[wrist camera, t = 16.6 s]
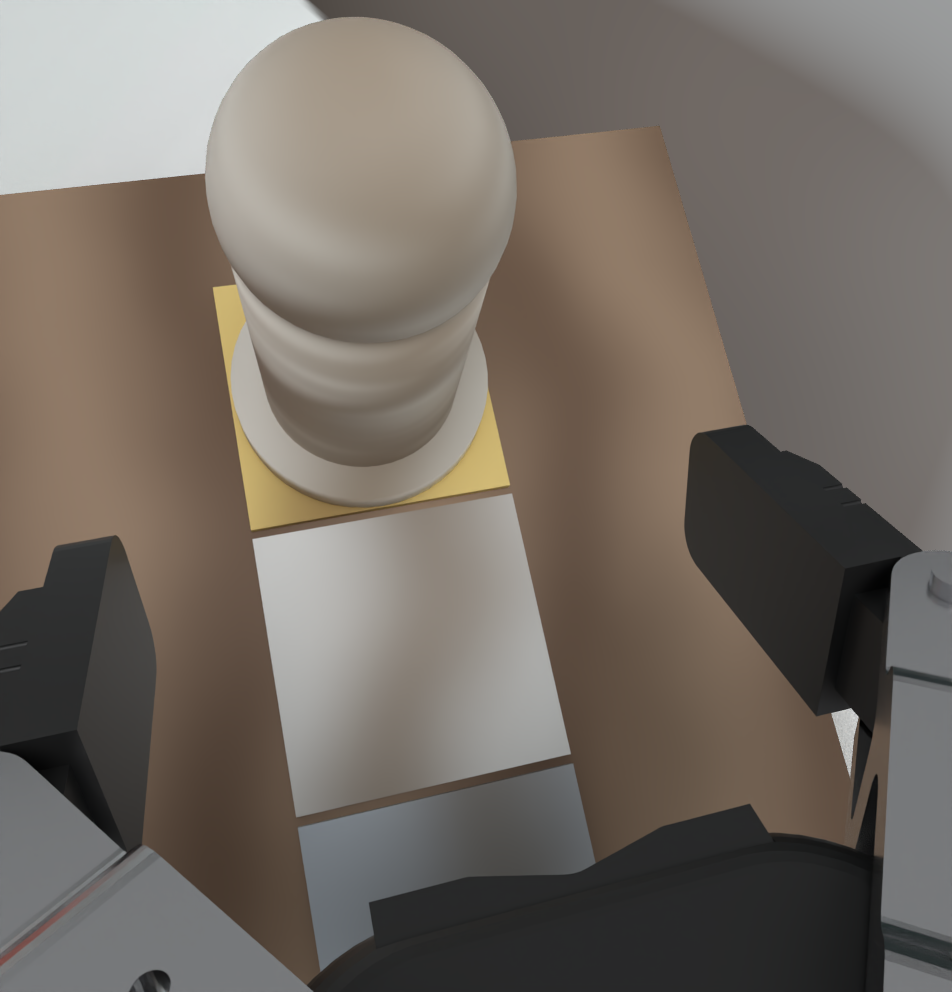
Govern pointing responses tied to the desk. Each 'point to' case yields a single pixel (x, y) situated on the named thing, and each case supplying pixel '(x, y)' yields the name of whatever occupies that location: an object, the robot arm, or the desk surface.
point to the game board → (406, 560)
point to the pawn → (360, 254)
